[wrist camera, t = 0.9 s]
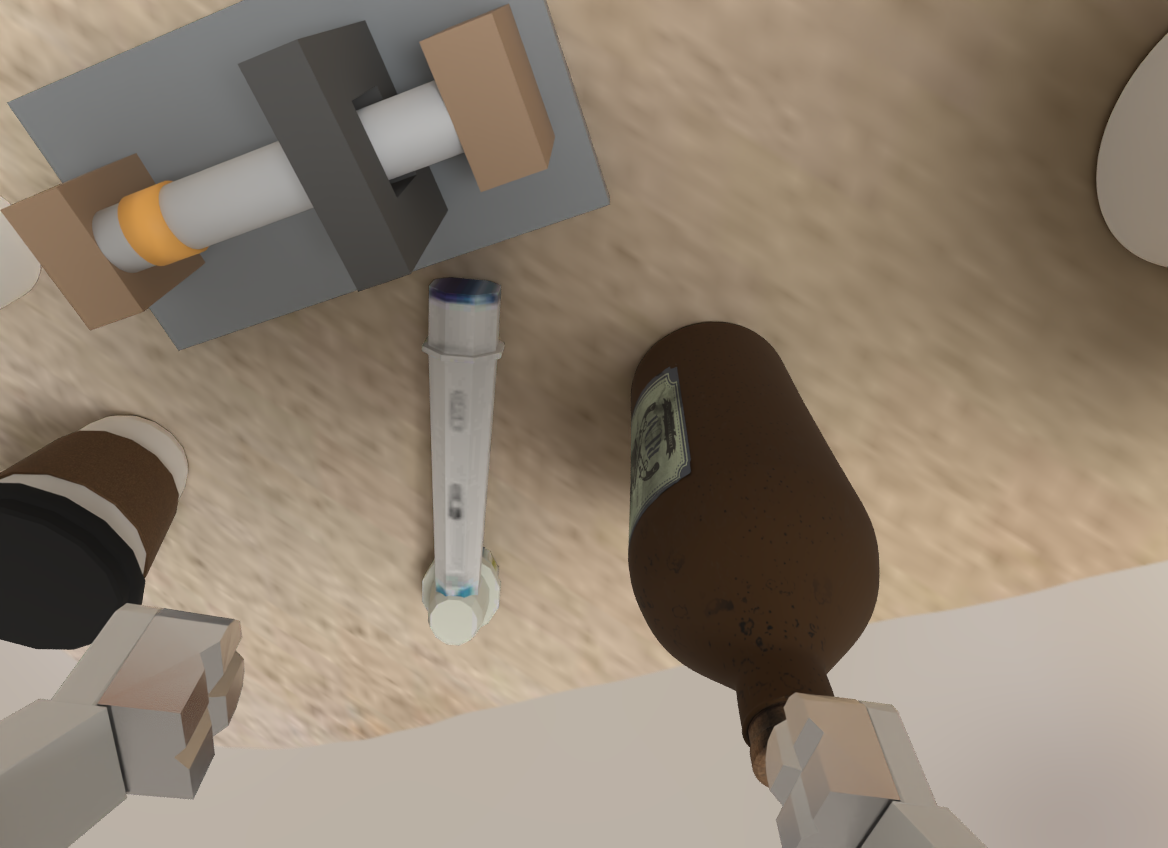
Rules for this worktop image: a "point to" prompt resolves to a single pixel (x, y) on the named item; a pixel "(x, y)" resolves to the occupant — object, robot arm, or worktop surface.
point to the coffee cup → (84, 529)
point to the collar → (346, 150)
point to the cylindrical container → (14, 263)
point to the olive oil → (743, 525)
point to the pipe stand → (263, 172)
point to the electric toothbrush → (461, 454)
